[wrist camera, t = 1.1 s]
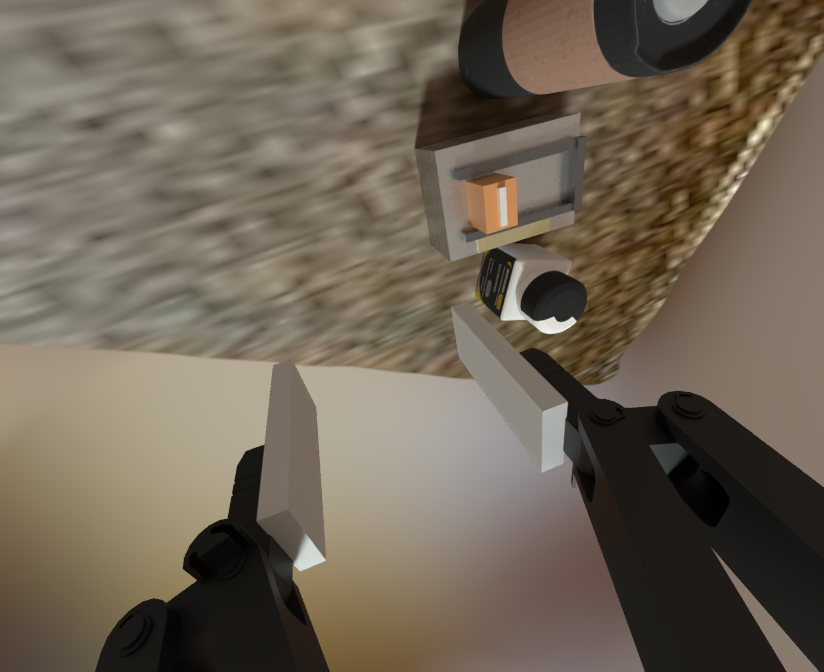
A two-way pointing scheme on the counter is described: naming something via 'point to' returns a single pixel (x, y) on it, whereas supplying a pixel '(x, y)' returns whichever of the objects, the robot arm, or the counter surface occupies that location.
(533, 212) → the grey boxy piece
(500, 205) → the toggle
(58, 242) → the counter surface
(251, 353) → the counter surface
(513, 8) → the travel mug
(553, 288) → the medicine bottle
